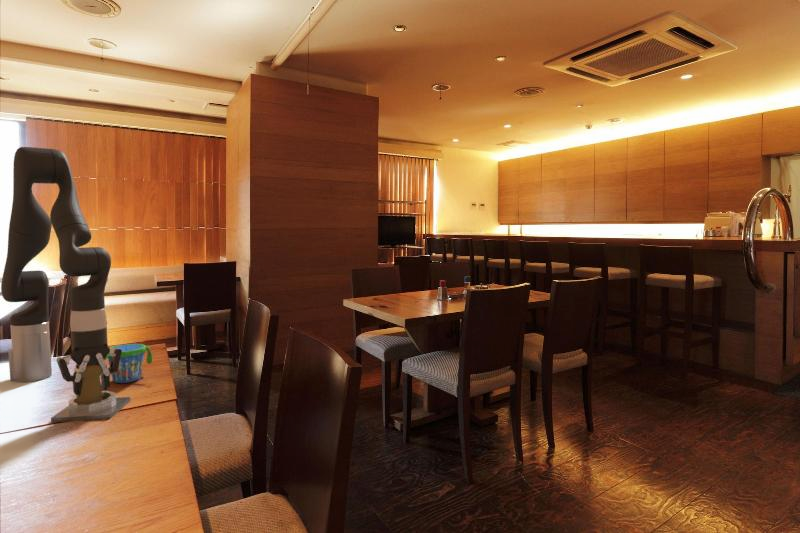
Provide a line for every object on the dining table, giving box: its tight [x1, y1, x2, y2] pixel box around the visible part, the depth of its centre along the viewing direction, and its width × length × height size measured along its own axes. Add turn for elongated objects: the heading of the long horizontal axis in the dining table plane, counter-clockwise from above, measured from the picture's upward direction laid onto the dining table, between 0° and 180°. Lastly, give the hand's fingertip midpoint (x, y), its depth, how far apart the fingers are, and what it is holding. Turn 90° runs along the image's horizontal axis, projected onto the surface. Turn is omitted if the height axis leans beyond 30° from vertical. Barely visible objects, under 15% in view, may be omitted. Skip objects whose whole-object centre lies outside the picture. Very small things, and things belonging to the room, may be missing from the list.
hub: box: [50, 390, 132, 423], centre depth 117 cm, size 13×12×3 cm
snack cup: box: [100, 343, 153, 384], centre depth 140 cm, size 16×10×10 cm
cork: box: [76, 365, 103, 404], centre depth 116 cm, size 6×6×11 cm
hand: (92, 392), depth 116 cm, fingers open, 5 cm apart
